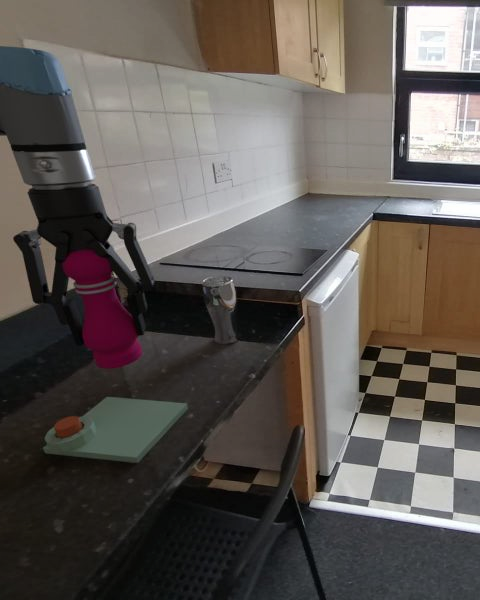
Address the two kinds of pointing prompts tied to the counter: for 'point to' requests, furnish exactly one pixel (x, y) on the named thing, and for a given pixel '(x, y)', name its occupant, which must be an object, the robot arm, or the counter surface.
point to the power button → (68, 426)
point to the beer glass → (222, 308)
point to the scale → (118, 430)
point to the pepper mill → (102, 311)
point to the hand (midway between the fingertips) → (112, 336)
